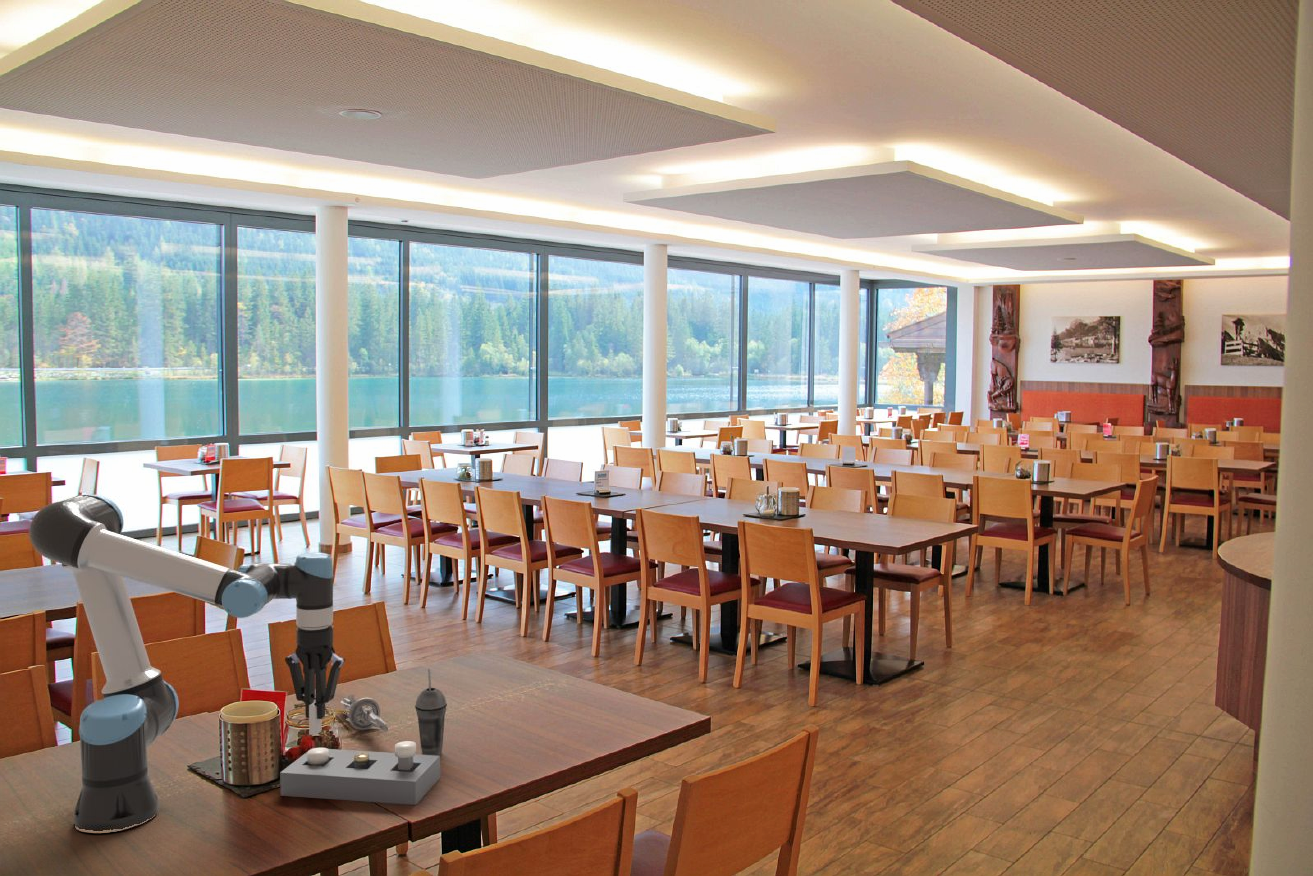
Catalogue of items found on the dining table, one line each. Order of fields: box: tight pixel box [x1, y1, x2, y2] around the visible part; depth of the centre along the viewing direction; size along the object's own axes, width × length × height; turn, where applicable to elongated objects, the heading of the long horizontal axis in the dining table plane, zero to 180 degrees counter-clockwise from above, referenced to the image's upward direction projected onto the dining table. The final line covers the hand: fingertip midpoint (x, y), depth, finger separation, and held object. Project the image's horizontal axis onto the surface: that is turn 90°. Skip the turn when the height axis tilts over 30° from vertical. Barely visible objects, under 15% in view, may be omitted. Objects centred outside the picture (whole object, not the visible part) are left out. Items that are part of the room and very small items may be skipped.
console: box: [279, 747, 441, 806], centre depth 220 cm, size 14×30×5 cm, turn 81°
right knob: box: [394, 740, 417, 770], centre depth 218 cm, size 4×4×5 cm
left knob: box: [307, 747, 329, 766], centre depth 221 cm, size 4×4×5 cm
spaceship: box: [340, 694, 389, 732], centre depth 254 cm, size 8×35×8 cm
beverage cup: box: [414, 668, 448, 757], centre depth 238 cm, size 7×7×20 cm
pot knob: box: [354, 753, 369, 769], centre depth 220 cm, size 3×3×3 cm
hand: (315, 732), depth 221 cm, fingers closed
